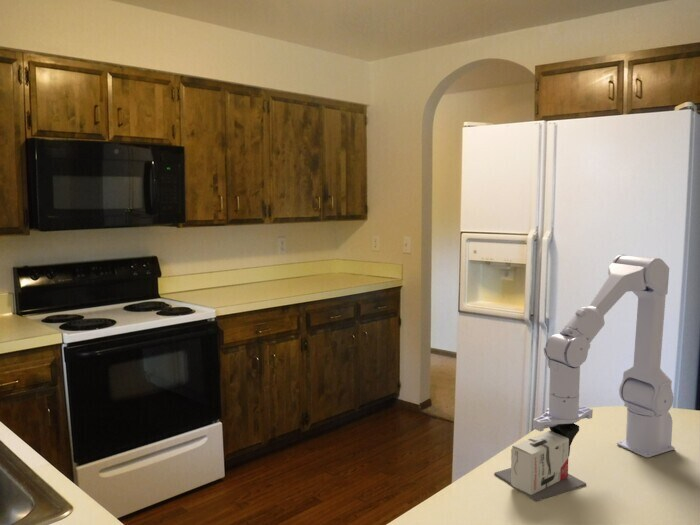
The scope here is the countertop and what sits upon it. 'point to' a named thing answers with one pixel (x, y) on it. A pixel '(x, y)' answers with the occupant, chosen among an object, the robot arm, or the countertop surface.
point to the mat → (550, 491)
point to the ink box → (539, 462)
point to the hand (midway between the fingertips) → (562, 456)
